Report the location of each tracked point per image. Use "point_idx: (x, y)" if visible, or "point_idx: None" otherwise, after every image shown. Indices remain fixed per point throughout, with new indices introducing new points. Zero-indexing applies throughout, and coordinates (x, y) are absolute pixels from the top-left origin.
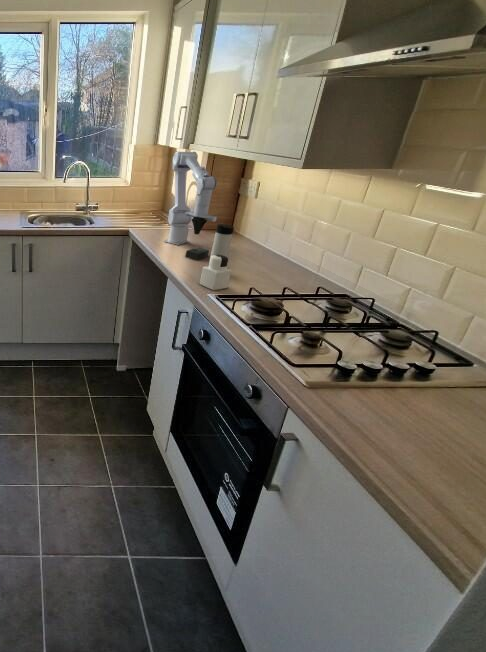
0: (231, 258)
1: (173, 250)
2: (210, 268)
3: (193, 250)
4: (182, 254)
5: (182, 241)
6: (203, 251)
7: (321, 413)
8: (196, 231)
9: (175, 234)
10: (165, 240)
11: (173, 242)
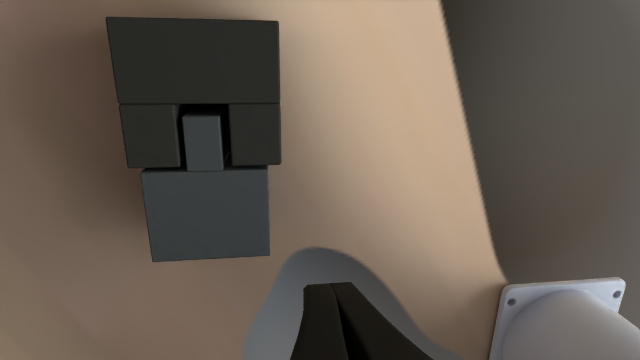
0: (13, 338)
1: (461, 126)
2: None
3: (234, 100)
4: (341, 81)
5: (506, 355)
6: (143, 160)
7: None
8: (324, 306)
9: (606, 346)
10: (622, 290)
11: (552, 294)
